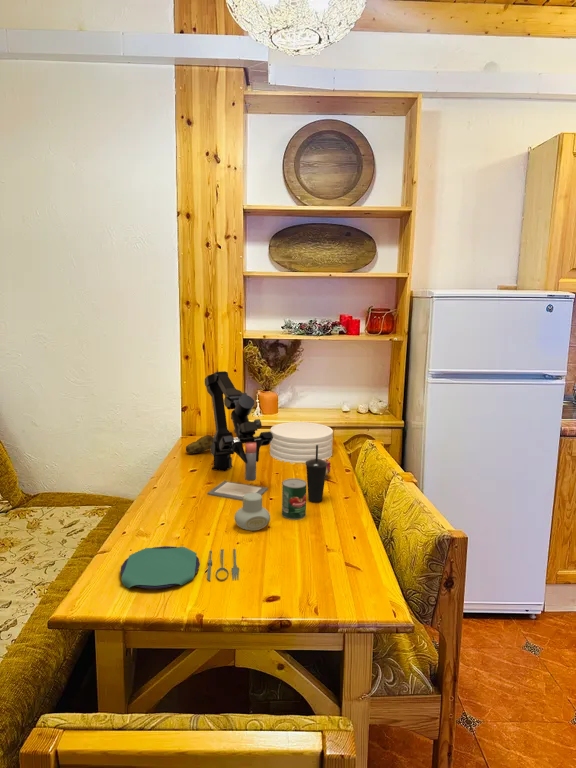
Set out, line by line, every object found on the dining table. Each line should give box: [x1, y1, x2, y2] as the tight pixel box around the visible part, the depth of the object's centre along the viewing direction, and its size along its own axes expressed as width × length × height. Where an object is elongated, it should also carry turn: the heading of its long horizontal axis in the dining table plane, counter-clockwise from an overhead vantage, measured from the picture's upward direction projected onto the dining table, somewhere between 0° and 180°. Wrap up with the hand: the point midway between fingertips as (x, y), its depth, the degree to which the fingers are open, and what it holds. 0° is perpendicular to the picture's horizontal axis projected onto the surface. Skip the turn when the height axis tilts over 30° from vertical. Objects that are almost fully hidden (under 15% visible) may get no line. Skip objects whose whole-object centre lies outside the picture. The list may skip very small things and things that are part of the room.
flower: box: [323, 459, 332, 480], centre depth 197 cm, size 10×9×8 cm
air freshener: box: [234, 493, 271, 532], centre depth 155 cm, size 11×8×10 cm
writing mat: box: [206, 480, 269, 502], centre depth 182 cm, size 18×13×1 cm
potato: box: [185, 434, 214, 455], centre depth 225 cm, size 8×13×8 cm, turn 91°
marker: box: [244, 442, 257, 482], centre depth 175 cm, size 4×4×13 cm
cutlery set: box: [120, 545, 240, 590], centre depth 131 cm, size 20×30×2 cm, turn 97°
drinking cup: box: [304, 445, 328, 504], centre depth 175 cm, size 8×8×20 cm
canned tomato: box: [281, 478, 308, 521], centre depth 164 cm, size 8×8×11 cm
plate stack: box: [269, 421, 334, 464], centre depth 227 cm, size 28×28×12 cm
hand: (252, 462), depth 174 cm, fingers closed on marker, 4 cm apart
